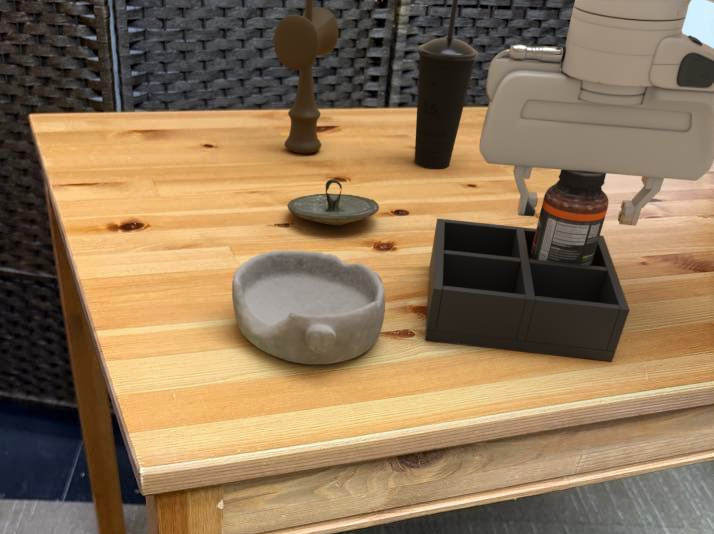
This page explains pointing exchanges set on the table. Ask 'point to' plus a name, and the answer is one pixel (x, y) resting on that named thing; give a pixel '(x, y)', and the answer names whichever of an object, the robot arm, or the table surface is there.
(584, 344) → the compartment organizer box
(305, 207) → the lid
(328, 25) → the kendama
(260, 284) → the dish
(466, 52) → the drinking cup
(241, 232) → the table surface
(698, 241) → the table surface
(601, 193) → the supplement bottle
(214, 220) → the table surface
